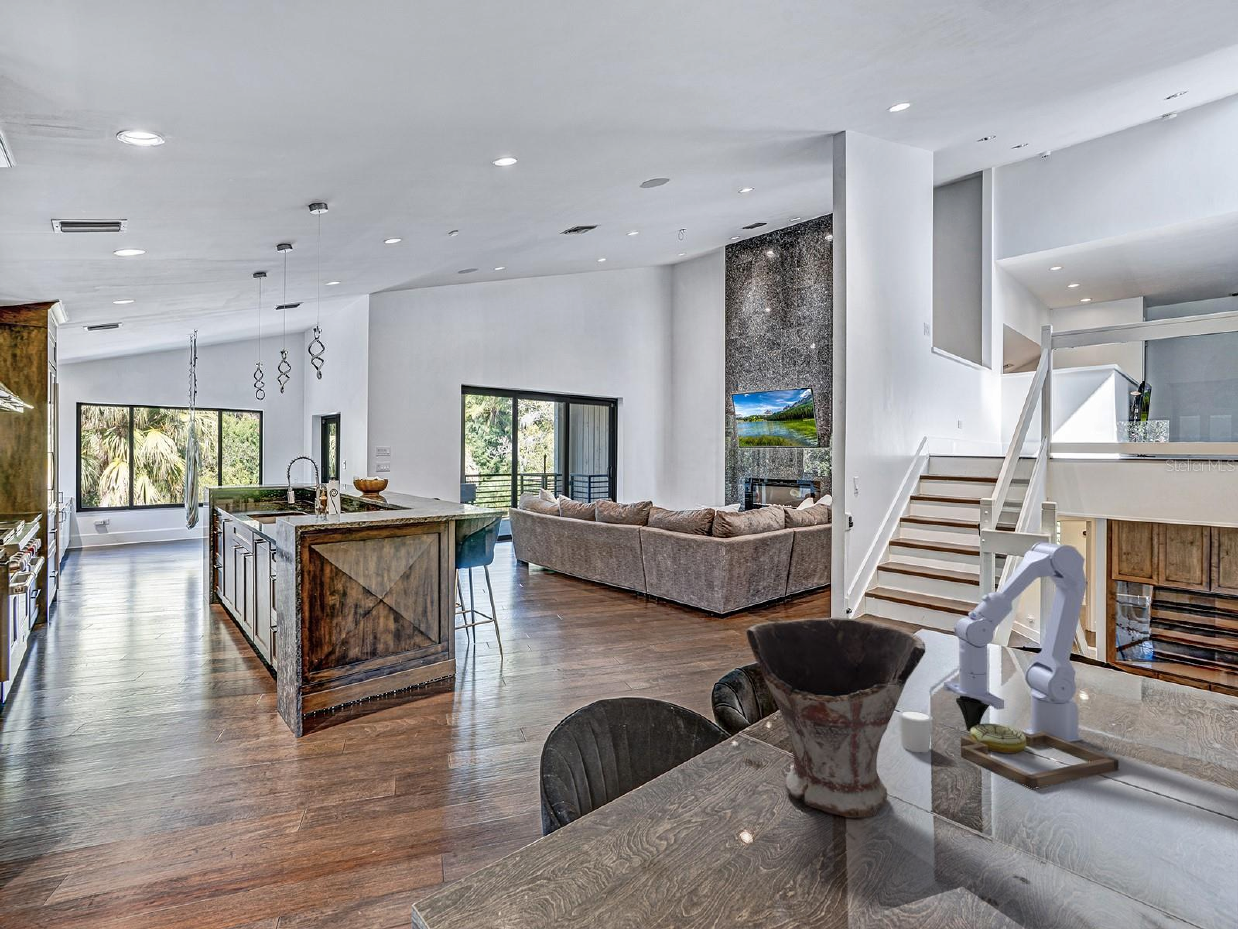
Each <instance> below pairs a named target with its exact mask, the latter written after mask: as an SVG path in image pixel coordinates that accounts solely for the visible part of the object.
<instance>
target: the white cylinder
mask: <svg viewBox="0 0 1238 929" xmlns="http://www.w3.org/2000/svg"><path fill="white" fill-rule="evenodd" d="M933 719H934V718H933V716H932V715H930V714H928V713H926V712H922V711H919V710H911V709H910V710H909V709H905V710H900V711H899V712H898V721H899V724H898V725H899V732H900V735H899V736H900V745H901V747H902V746H903V747H902V748H903V749H904V748H905V749H904V750H906V749H907V750H906V751H908V750H910V751H909V752H913V751H914V752H913V753H917V752H918V753H919V752H925V753H928V752H930V746H931V736H932V729H933V728H932V727H933ZM927 751H928V752H927ZM919 754H920V753H919Z"/></svg>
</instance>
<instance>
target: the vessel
mask: <svg viewBox="0 0 1238 929" xmlns="http://www.w3.org/2000/svg"><path fill="white" fill-rule="evenodd" d="M746 637H747V640H748V641H747V642H748V643H749V644H748V645H749V646H750V649H751V652H752V653H753V658H754V660H755V662H756V663H757V665H758V666H759V668H760V671H761V675H762V676H763V678H764V681H765V683H766V685H767V687H768V690H769V691H770V693H771V695H772V697H773V699H774V701H775V703H776V705H777V708H778V710H779V712H780V715H781V717H782V718H781V719H782V720H783V722H784V726H785V729H786V731H787V735H788V737H789V741H790V745H791V749H792V756H793V767H792V768H791V770H790V771H789V772H788V773H787V774H786V778H785V784H784V785H785V790H786V791H787V793H789V794H790V795H791V796H792V797H793V798H795V799H797V800H800V799H801V800H802V801H803V803H804V804H805V805H806V806H808V807H811V808H814V809H816V810H817V809H818V810H821V811H824V812H826V813H830V814H833V815H836V816H837V815H838V816H842V817H845V818H850V819H851V818H852V819H858V818H867V817H871V816H875V815H877V811H878V809H879V808H881V807H882V806H883V805H884V804H885V803H886V801H887V798H888V790H887V787H886V786H885V784H884V783H883V782H882V780H881V778H880V776H879V774H878V771H877V770H878V769H877V768H878V767H877V766H878V753H879V748H880V745H881V741H882V739H883V736H884V734H885V732H887V729H888V726H889V723H890V721H891V720H892V719H891V718H892V717H893V714H894V712H895V710H896V708H897V706H898V702H899V701H900V700H899V699H900V698H901V695H902V693H903V691H904V688H905V686H906V684H907V681H908V679H909V678H910V677H911V676H912V674H913V673H914V671H915V670H916V668H917V667H918V666H919V663H920V662H921V660H922V659H923V657H924V655H925V653H926V643H925V642H924V641H923V640H922V638H920V637H919V636H918V635H916V634H914V633H911V632H909V631H908V630H905V629H903V628H901V627H898V626H895V625H890V624H889V625H888V624H882V623H881V624H880V623H876V622H873V621H869V620H865V619H860V618H848V617H818V618H815V617H814V618H802V619H801V618H800V619H793V620H779V621H770V622H762V623H757V624H755V625H753V626H750V627H748V628H747V630H746Z"/></svg>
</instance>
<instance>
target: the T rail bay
mask: <svg viewBox="0 0 1238 929" xmlns="http://www.w3.org/2000/svg"><path fill="white" fill-rule="evenodd" d="M1017 730H1018V729H1017ZM1018 731H1020V732H1021V733H1022V734H1023V735H1024V736H1025V737H1026V744H1027V745H1026V747H1027V746H1028V747H1029V746H1033V747H1038V746H1043V745H1045V746H1048V747H1051V748H1053V749H1056V750H1058V749H1059V750H1058V751H1061V752H1063V753H1066V754H1068V753H1069V754H1068V755H1072V756H1074V757H1076V756H1078V757H1077V758H1079V759H1082V760H1085V761H1086V760H1088V761H1087V762H1083V763H1077V764H1073V765H1068V766H1064V767H1059V768H1053V769H1049V770H1044V771H1040V772H1036V773H1029V772H1026V771H1024V770H1022V769H1020V768H1017V767H1015V766H1014V765H1010V764H1008V763H1006V762H1004V761H1002V760H999V759H997V758H995V757H993V756H991V755H989V750H988V746H987V745H985V744H983V743H980V742H978V741H976V740H973V739H971V737H968V736H966V735H965V736H960V757H962V758H963V759H965V760H968V761H970V762H972V763H974V764H977V765H979V766H981V767H983V768H986V769H988V770H989V771H992V772H994V773H996V774H998V775H1001V776H1002V777H1004V778H1007V779H1009V780H1012V781H1013V780H1015V781H1017V782H1019V783H1018V784H1020V785H1022V784H1024V785H1026V786H1028V787H1030V788H1032V789H1031V790H1034V789H1033V788H1036V787H1041V788H1043V787H1042V786H1046V785H1050V786H1052V785H1051V784H1054V785H1058V784H1062V783H1067V782H1066V781H1068V782H1071V781H1070V780H1072V781H1075V780H1081V779H1085V778H1089V777H1093V776H1097V775H1102V774H1106V773H1111V772H1115V771H1119V769H1120V768H1119V766H1120V765H1119V763H1120V762H1119V759H1116V758H1114V757H1112V756H1108V755H1106V754H1103V753H1101V752H1098V751H1096V750H1092V749H1091V748H1087V747H1085V746H1081V745H1079V744H1076V743H1073V742H1069V741H1066V740H1063V739H1061V738H1058V737H1055V736H1053V735H1050V734H1047V733H1045V732H1040V733H1034V734H1027V733H1024V732H1022V730H1018ZM1089 761H1090V762H1089ZM1084 777H1085V778H1084ZM1080 778H1081V779H1080ZM1015 781H1014V782H1015ZM1017 782H1016V783H1017ZM1024 785H1023V786H1024ZM1026 786H1025V787H1026ZM1028 787H1027V788H1028ZM1046 787H1047V786H1046ZM1030 788H1029V789H1030Z"/></svg>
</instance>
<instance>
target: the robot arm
mask: <svg viewBox="0 0 1238 929" xmlns="http://www.w3.org/2000/svg"><path fill="white" fill-rule="evenodd" d="M1022 559H1023V560H1022V561H1021V562H1020V564H1019V565H1018V566H1017V567H1016V569H1015V570H1014V571H1013V572H1012V573H1011V575H1010V576H1009V578H1008V579H1007V580H1006V582H1004V583H1003V585H1002V586H1001V588H999V590H998V591H994V592H989V593H988V594H984V595H983V596H982V597H981V601H980V603H978V604H977V606H976V607H975V608H974V609H973V610H972V611H969V612H968V616H964V617H962V618H960V619H959V620H958V621H957V623H956V626H955V627H953V631H954V634H955V636H956V637H957V639H958V641H959V642H958V646H959V647H958V682H954V681H951V680H946V681H943V690H944V691H946V692H952V693H955V694H957V695H958V696H959V697H957V698H956V699H955V702H956V703H957V705H958V707H959V710H960V711H961V714H962V716H963V720H964V723H965V728H966V731H967V732H970V729H971V728H972V727H974V726H976V725H978V724H981V721H982V718H983V716H984V714H985V713H986V711H987V710H988V708H989V707H992V708H994V709H995V710H1004V709H1005V700H1004V699H1002V698H1000V697H999V696H996V695H994V694H992V693H991V692H989V691H988V645H989V644H990V643H992V641H993V640H994V632H995V630H996V628H997V627H998V626H999V625H1000V624H1001V623H1002V622H1003V621H1004V620H1005V619H1006V617H1007V616H1008V615H1009V614H1010V613H1012V611H1013V601H1014V600H1015V599H1017V598H1018V597H1019V596H1020V595H1021V594H1022V593H1023V592H1024V591H1025V590H1026V589H1027V588H1028V587H1029V586H1030V585H1031V584H1032V583H1034V581H1035V580H1037V579H1038V578H1044V577H1049V579H1051V581H1052V582H1053V583H1054V584H1055V586H1056V587H1055V590H1054V596H1053V600H1052V605H1051V608H1050V609H1051V610H1050V613H1049V617H1048V621H1047V624H1046V629H1045V634H1044V638H1043V644H1042V647H1041V651H1040V652H1038V653H1037V654H1036V655H1034V656H1033V657H1032V661H1031V663H1030V665H1029V666H1028V667H1027V668H1026V671H1025V672H1024V680H1025V682H1026V685H1027V686H1028V687H1029V688H1030V693H1031V694H1030V695H1031V696H1030V699H1031V700H1030V728H1028V729H1023V730H1021V732H1024V733H1027V734H1034V733H1040V732H1045V733H1047V734H1050V735H1053V736H1055V737H1058V738H1061V739H1063V740H1066V741H1069V742H1071V743H1073V742H1076V741H1078V742H1079V741H1082V740H1083V737H1081V736H1079V719H1080V718H1079V717H1080V716H1079V708H1078V705H1077V704H1076V702H1075V701H1074V700H1073V698H1074V697H1075V694H1076V693H1077V686H1076V681H1075V676H1076V671H1075V668H1074V667H1073V664H1072V662H1071V661H1070V659H1071V658H1070V657H1071V653H1072V650H1073V644H1074V640H1075V635H1076V632H1077V627H1078V624H1079V620H1080V614H1081V611H1082V606H1083V603H1084V599H1085V593H1086V590H1087V578H1086V576H1085V571H1084V565H1085V560H1086V559H1085V558H1084V556H1083V555H1082V554H1081V552H1079V550H1078V549H1076V547H1074V546H1071V545H1068V544H1067V545H1066V544H1058V543H1051V542H1047V541H1038V542H1036V543H1034V544H1033V545H1032V547H1031V548H1030V550H1028V551H1027V552H1025V553H1024V556H1023V558H1022Z"/></svg>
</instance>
